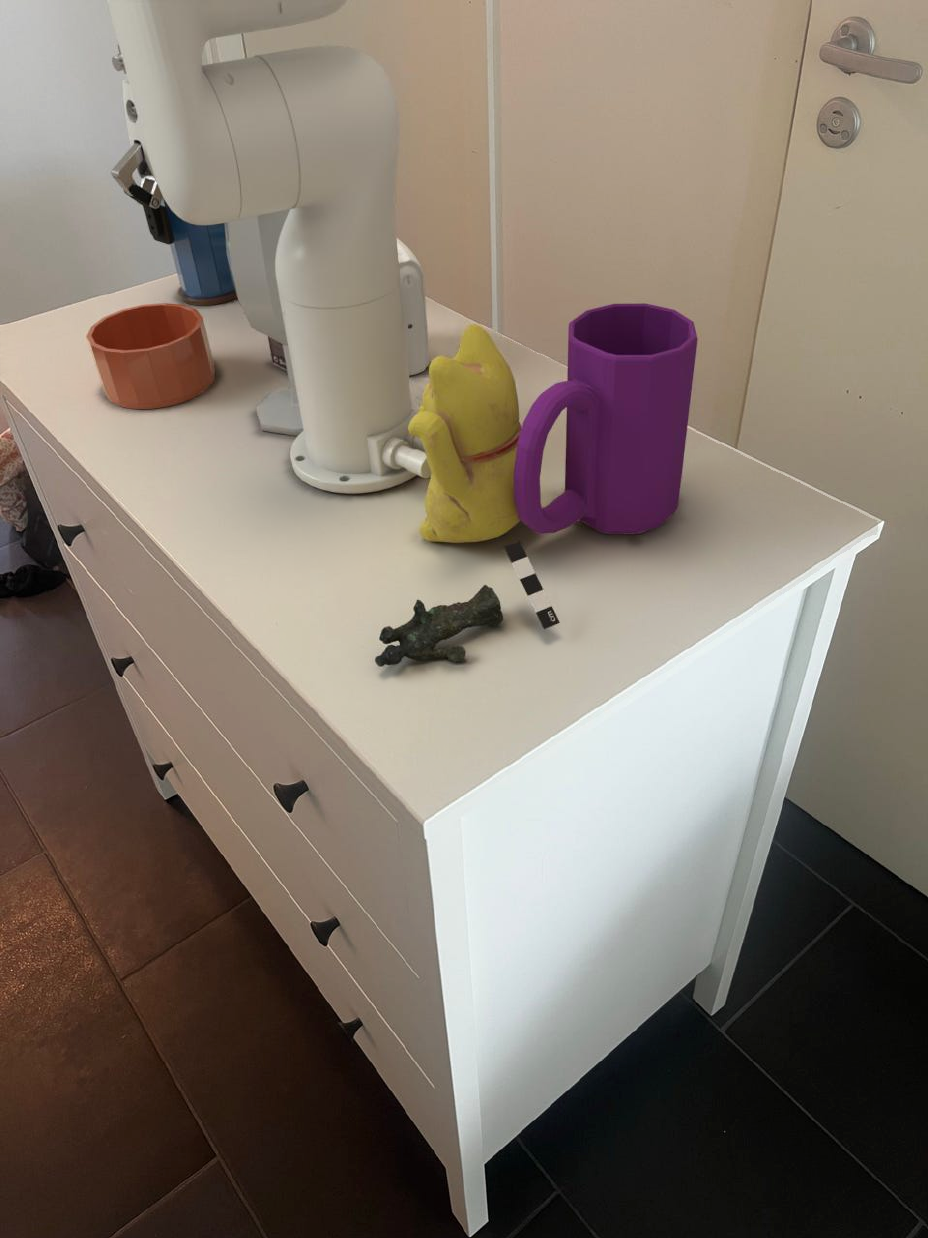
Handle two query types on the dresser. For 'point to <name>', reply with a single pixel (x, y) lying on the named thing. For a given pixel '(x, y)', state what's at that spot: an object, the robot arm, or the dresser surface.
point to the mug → (613, 422)
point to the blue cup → (200, 257)
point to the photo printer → (413, 310)
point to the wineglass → (263, 305)
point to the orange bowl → (152, 355)
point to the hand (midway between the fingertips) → (198, 228)
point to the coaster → (206, 300)
